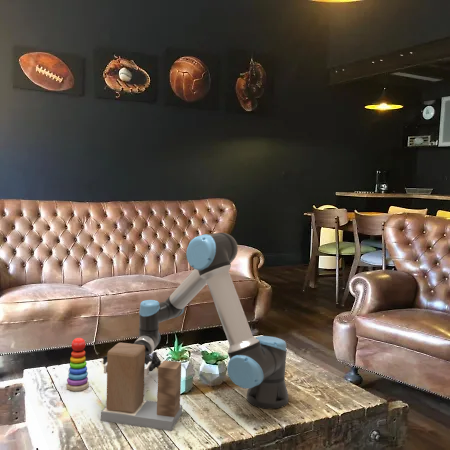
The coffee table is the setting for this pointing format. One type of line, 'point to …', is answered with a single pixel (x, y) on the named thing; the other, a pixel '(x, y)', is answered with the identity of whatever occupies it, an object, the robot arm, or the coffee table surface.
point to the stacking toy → (78, 367)
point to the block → (125, 377)
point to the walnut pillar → (169, 388)
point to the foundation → (142, 416)
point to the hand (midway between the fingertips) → (125, 371)
